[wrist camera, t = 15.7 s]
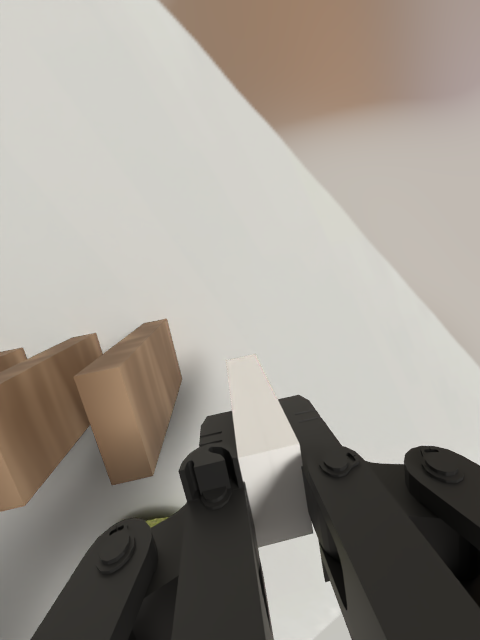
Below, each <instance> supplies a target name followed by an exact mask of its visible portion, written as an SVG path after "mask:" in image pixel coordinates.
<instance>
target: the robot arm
mask: <svg viewBox="0 0 480 640" xmlns="http://www.w3.org/2000/svg"><path fill="white" fill-rule="evenodd" d="M226 367H227V375H228V383H229V391H230V399H231V407H232V411H229V412H225V413H220V414H216V415H211V416H207V417H206V419H205V421H204V422H203V424H202V425H201V431H200V443H199V446H200V447H199V448H197V449H196V450H194V451H193V452H191V453H190V454H189V455H188V456H187V457H186V458H185V459H184V461H183V462H182V464H181V466H180V469H179V474H180V478H181V481H182V485H183V489H184V492H185V496H186V499H187V503H186V504H185V505H184V506H183V507H182V508H181V509H180V510H179V511H178V512H176V513H175V514H174V515H172V516H171V517H169V518H167V519H165V520H164V521H162V522H160V523H158V524H156V525H155V526H153V527H151V528H150V526H149V525H148V524H147V522H146V521H145V520H142V519H138V518H132V519H127V520H123V521H121V522H119V523H117V524H115V525H114V526H112V527H110V528H109V529H108V530H107V531H105V532H104V533H103V534H102V535H101V536H99V537H98V538H97V540H96V541H95V542H94V543H93V545H92V546H91V547H90V548H89V550H88V551H87V553H86V554H85V556H84V557H83V559H82V560H81V562H80V563H79V565H78V567H77V568H76V570H75V571H74V573H73V574H72V576H71V578H70V579H69V581H68V582H67V584H66V585H65V587H64V588H63V590H62V592H61V593H60V595H59V596H58V598H57V599H56V601H55V602H54V604H53V606H52V607H51V609H50V610H49V612H48V613H47V615H46V617H45V618H44V620H43V621H42V623H41V624H40V626H39V627H38V629H37V631H36V632H35V634H34V635H33V637H32V638H31V640H274V638H273V632H272V626H271V620H270V614H269V607H268V601H267V595H266V589H265V583H264V577H263V571H262V567H261V562H260V558H259V551H258V547H262V546H266V545H270V544H273V543H277V542H281V541H285V540H289V539H293V538H297V537H300V536H304V535H308V534H312V533H313V529H312V524H313V526H314V529H315V531H316V534H317V537H318V540H319V546H320V553H321V560H322V566H323V572H324V578H325V582H328V581H330V582H331V584H332V587H333V590H334V593H335V595H336V598H337V601H338V603H339V606H340V609H341V612H342V614H343V617H344V619H345V622H346V625H347V628H348V630H349V633H350V636H351V638H352V640H480V466H479V465H478V464H476V463H474V462H472V461H471V460H469V459H467V458H465V457H463V456H462V455H459V454H457V453H455V452H452V451H450V450H448V449H444V448H439V447H435V446H419V447H416V448H412V449H410V450H409V451H408V452H407V453H406V454H405V459H404V464H379V463H371V462H367V461H364V459H363V458H362V457H361V456H360V455H358V454H357V453H356V452H355V451H353V450H351V449H349V448H347V447H344V446H342V445H341V444H340V443H339V441H338V440H337V438H336V437H335V436H334V434H333V433H332V432H331V430H330V429H329V427H328V426H327V425H326V423H325V422H324V421H323V419H322V418H321V417H320V415H319V414H318V412H317V411H316V410H315V408H314V407H313V405H312V404H311V403H310V401H309V400H307V399H305V398H304V397H302V396H300V395H296V396H291V397H287V398H282V399H277V397H276V395H275V393H274V391H273V389H272V387H271V385H270V383H269V380H268V378H267V376H266V374H265V372H264V370H263V368H262V366H261V364H260V362H259V360H258V358H257V356H256V354H253V355H248V356H244V357H239V358H234V359H230V360H226ZM311 521H312V522H311Z"/></svg>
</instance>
